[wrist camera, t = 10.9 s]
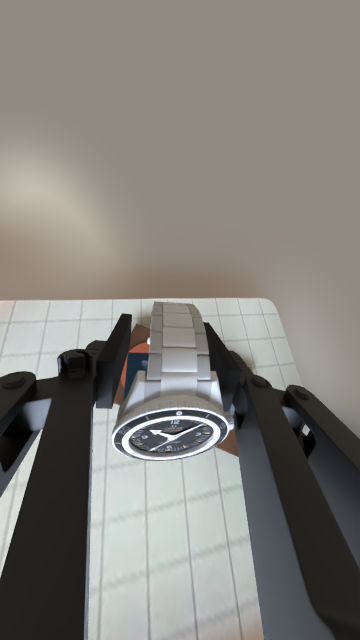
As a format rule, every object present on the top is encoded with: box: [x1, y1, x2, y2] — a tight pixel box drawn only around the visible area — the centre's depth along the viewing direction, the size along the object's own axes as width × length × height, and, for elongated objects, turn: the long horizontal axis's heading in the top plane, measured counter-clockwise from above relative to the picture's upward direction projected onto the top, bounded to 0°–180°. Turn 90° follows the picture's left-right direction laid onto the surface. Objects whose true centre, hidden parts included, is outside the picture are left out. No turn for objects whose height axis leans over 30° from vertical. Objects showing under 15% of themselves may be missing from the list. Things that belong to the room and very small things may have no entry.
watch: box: [111, 302, 234, 461], centre depth 12 cm, size 6×8×11 cm
